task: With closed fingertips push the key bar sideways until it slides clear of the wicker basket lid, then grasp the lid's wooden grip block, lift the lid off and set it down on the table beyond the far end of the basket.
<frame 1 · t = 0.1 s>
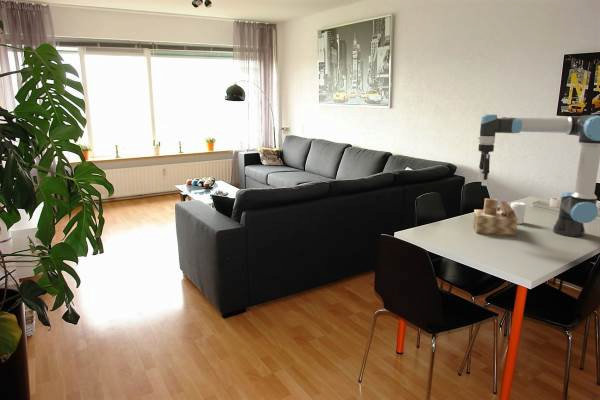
hand: (482, 183, 239), 28 cm above the table, fingers open, 13 cm apart
lid: (495, 215, 246), point 9 cm above the table, touching wicker basket
wicker basket: (493, 231, 248), on the table
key: (506, 209, 246), point 13 cm above the table, slide at 0.0 cm
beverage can: (516, 222, 266), on the table
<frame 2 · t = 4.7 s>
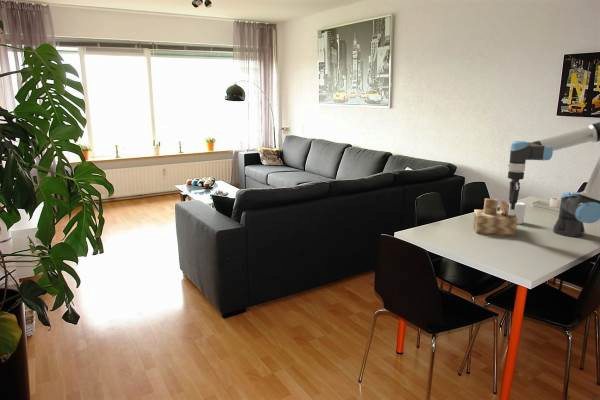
hand: (511, 214, 234), 12 cm above the table, fingers closed
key: (506, 209, 246), point 13 cm above the table, slide at 0.4 cm, touching gripper
everything else where it was.
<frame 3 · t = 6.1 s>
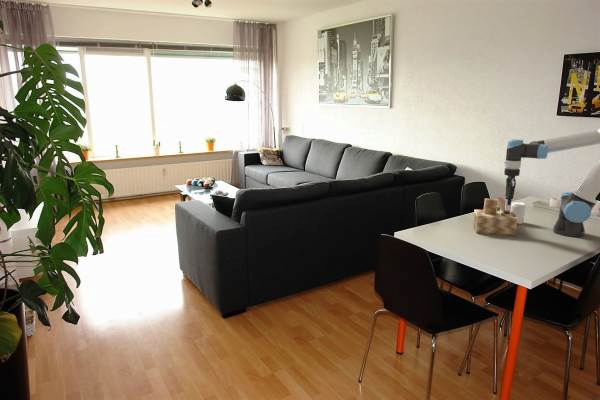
hand: (507, 210, 244), 13 cm above the table, fingers closed
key: (503, 205, 256), point 13 cm above the table, slide at 10.5 cm, touching gripper
everything else where it was.
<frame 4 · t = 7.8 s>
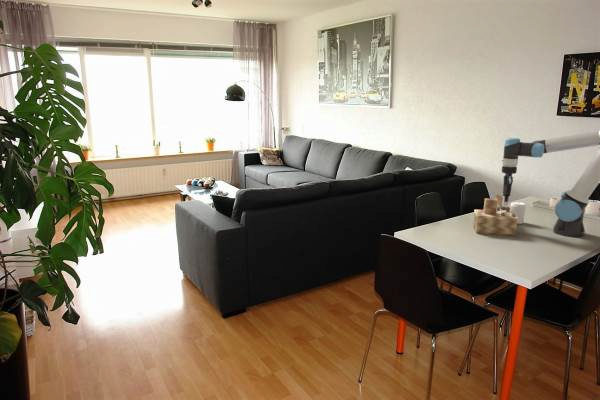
hand: (505, 206, 251), 13 cm above the table, fingers closed
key: (501, 202, 263), point 13 cm above the table, slide at 18.3 cm, touching gripper
everything else where it was.
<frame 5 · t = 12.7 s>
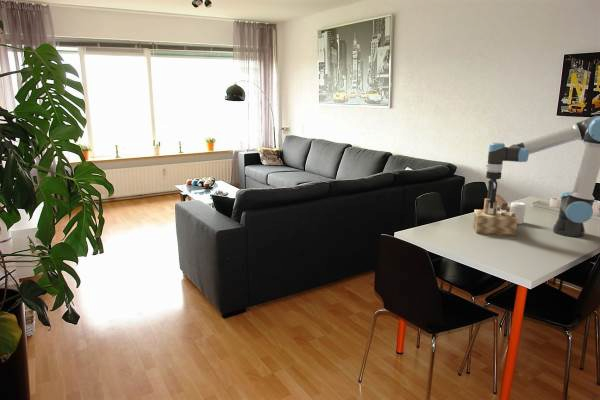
hand: (489, 212, 246), 11 cm above the table, fingers closed on lid, 4 cm apart
lid: (495, 215, 246), point 9 cm above the table, touching gripper, wicker basket
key: (501, 202, 263), point 13 cm above the table, slide at 18.4 cm
everything else where it was.
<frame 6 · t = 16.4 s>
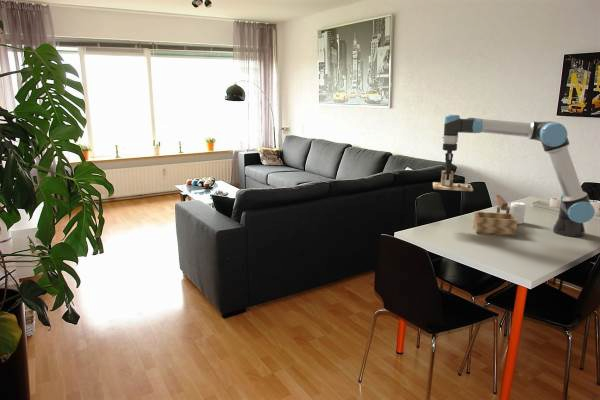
hand: (446, 184, 249), 25 cm above the table, fingers closed on lid, 4 cm apart
lid: (452, 187, 249), point 24 cm above the table, touching gripper
everything else where it was.
when the fingers open (3 cm above the table, at t = 20.5 s): lid drops 2 cm, on the table.
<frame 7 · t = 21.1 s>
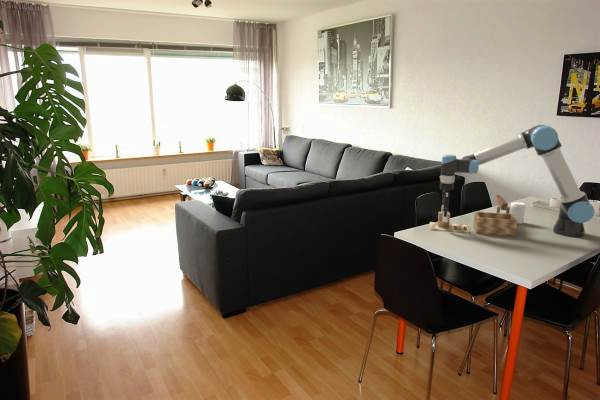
hand: (444, 218, 254), 5 cm above the table, fingers open, 13 cm apart
lid: (448, 228, 254), on the table
everything else where it was.
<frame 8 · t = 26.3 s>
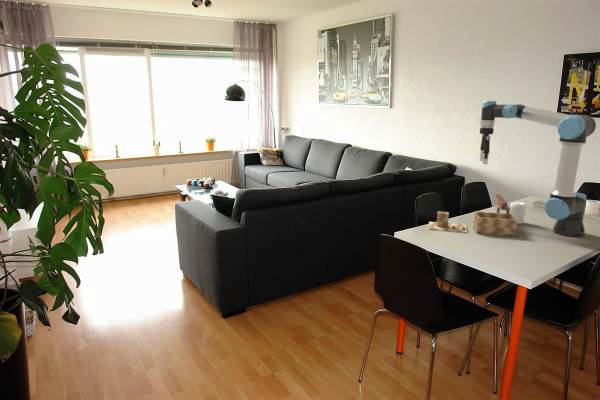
hand: (483, 162, 268), 35 cm above the table, fingers open, 13 cm apart
at the end: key slide at 18.4 cm; lid inside the target area (0.2 cm from its centre), on the table; lid tilted 0° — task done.
